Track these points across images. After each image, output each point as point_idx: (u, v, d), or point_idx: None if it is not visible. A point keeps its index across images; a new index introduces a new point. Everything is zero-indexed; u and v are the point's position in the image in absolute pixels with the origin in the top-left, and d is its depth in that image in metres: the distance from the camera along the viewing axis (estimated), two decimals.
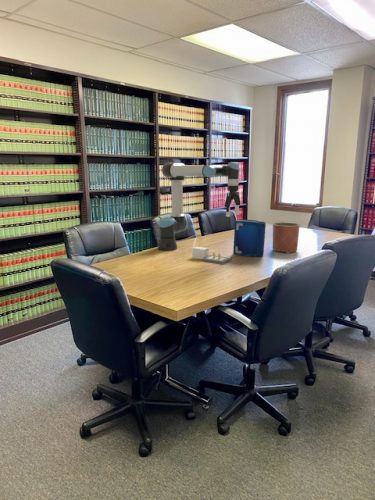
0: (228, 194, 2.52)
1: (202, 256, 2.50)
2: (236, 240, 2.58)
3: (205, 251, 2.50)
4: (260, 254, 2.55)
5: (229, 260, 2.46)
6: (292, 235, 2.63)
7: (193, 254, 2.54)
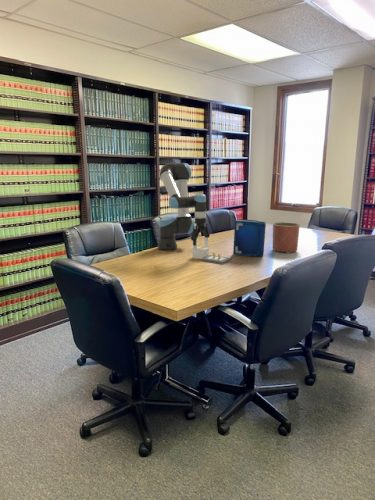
0: (195, 227, 2.44)
1: (202, 256, 2.50)
2: (236, 240, 2.58)
3: (205, 251, 2.50)
4: (260, 254, 2.55)
5: (229, 260, 2.46)
6: (292, 235, 2.63)
7: (193, 254, 2.54)
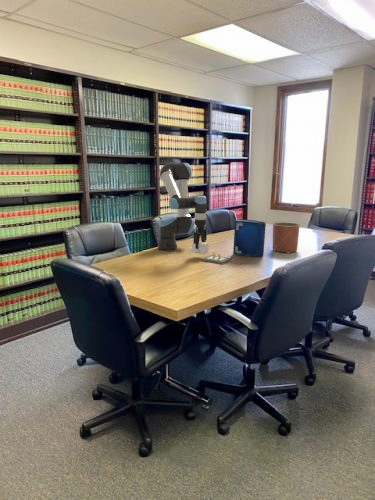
0: (195, 231, 2.45)
1: (202, 250, 2.50)
2: (236, 240, 2.58)
3: (205, 246, 2.50)
4: (260, 254, 2.55)
5: (229, 260, 2.46)
6: (292, 235, 2.63)
7: (193, 249, 2.54)
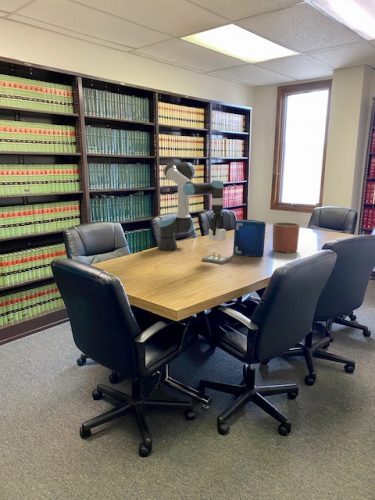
0: (212, 217, 2.35)
1: (219, 237, 2.39)
2: (236, 240, 2.58)
3: (222, 232, 2.39)
4: (260, 254, 2.55)
5: (229, 260, 2.46)
6: (292, 235, 2.63)
7: (210, 236, 2.43)
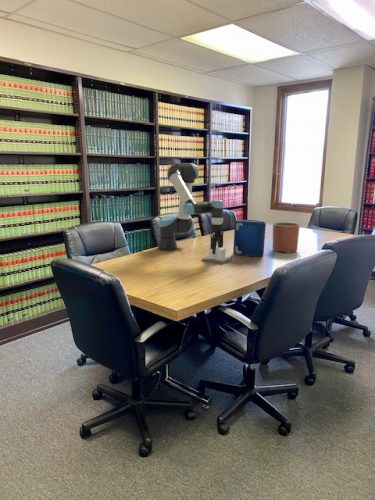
0: (212, 236, 2.38)
1: (219, 256, 2.43)
2: (236, 240, 2.58)
3: (222, 251, 2.42)
4: (260, 254, 2.55)
5: (229, 260, 2.46)
6: (292, 235, 2.63)
7: (209, 254, 2.46)
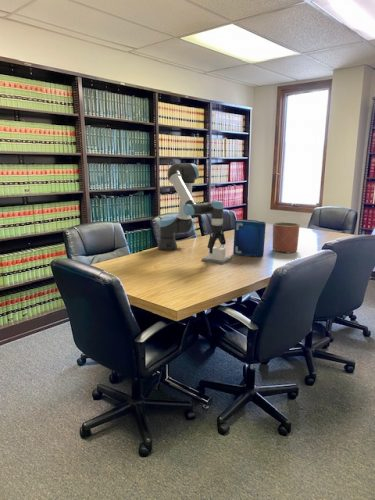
0: (211, 235, 2.38)
1: (219, 256, 2.42)
2: (236, 240, 2.58)
3: (222, 251, 2.42)
4: (260, 254, 2.55)
5: (229, 260, 2.46)
6: (292, 235, 2.63)
7: (209, 254, 2.46)
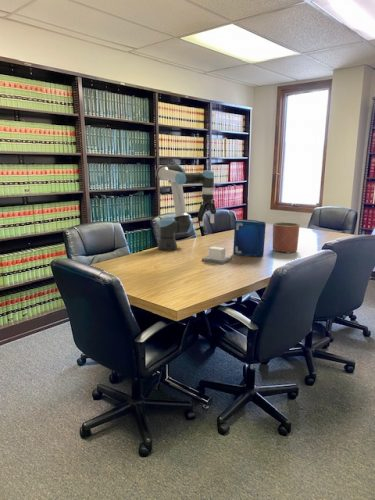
0: (202, 203, 2.46)
1: (219, 256, 2.42)
2: (236, 240, 2.58)
3: (222, 251, 2.42)
4: (260, 254, 2.55)
5: (229, 260, 2.46)
6: (292, 235, 2.63)
7: (209, 254, 2.46)
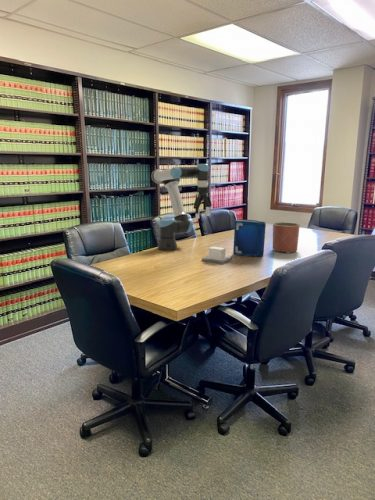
0: (197, 196, 2.51)
1: (219, 256, 2.42)
2: (236, 240, 2.58)
3: (222, 251, 2.42)
4: (260, 254, 2.55)
5: (229, 260, 2.46)
6: (292, 235, 2.63)
7: (209, 254, 2.46)
